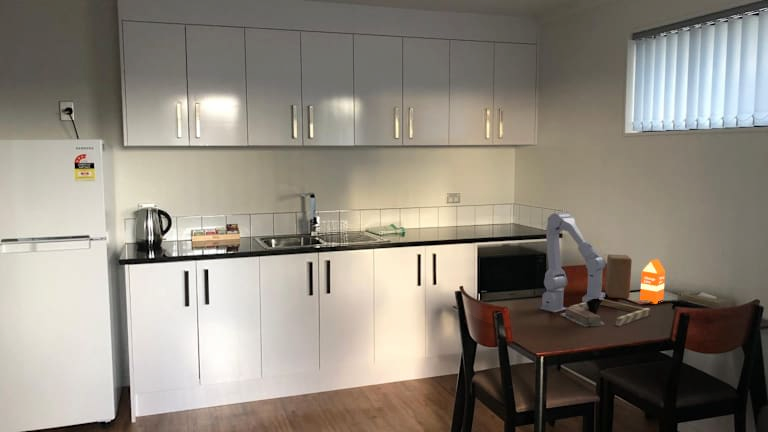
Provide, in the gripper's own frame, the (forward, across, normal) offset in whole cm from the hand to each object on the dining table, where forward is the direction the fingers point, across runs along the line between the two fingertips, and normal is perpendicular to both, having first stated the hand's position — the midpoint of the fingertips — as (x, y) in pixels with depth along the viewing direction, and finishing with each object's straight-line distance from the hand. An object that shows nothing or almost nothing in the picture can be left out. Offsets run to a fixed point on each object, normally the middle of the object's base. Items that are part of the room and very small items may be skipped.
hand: (592, 315), depth 267 cm
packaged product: (+2, -5, +2) cm, 6 cm away
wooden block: (+2, +46, +15) cm, 48 cm away
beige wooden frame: (+2, +13, 0) cm, 13 cm away
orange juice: (+2, +51, 0) cm, 51 cm away
